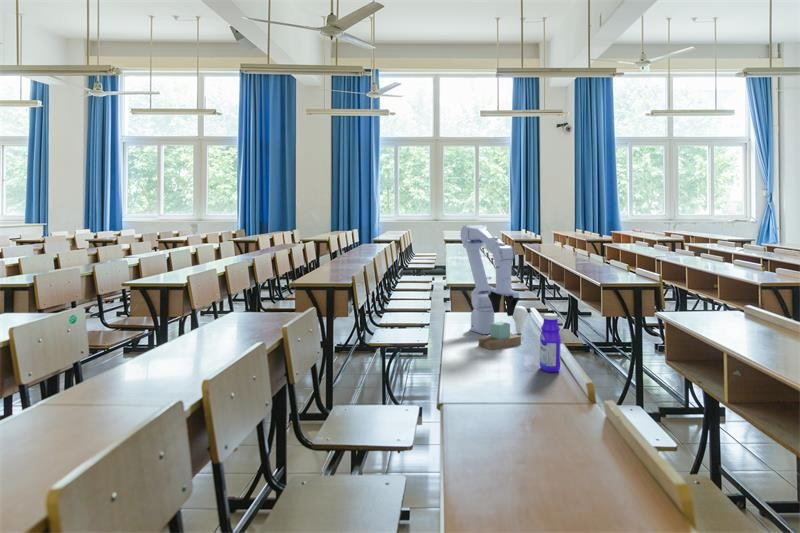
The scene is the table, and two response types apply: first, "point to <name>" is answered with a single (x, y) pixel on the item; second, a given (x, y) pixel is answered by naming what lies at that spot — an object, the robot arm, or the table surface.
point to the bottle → (550, 344)
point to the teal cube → (500, 330)
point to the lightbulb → (519, 318)
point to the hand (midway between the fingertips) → (503, 314)
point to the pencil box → (499, 342)
